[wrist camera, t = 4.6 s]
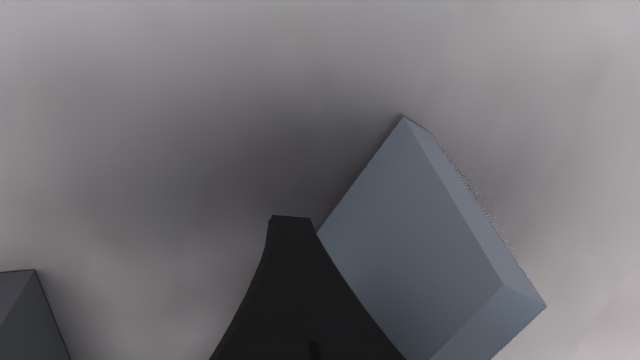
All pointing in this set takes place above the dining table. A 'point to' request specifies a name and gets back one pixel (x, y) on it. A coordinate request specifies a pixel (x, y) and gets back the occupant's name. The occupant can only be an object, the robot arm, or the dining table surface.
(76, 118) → the dining table surface
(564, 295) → the dining table surface
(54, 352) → the box
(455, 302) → the side door
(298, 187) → the dining table surface
